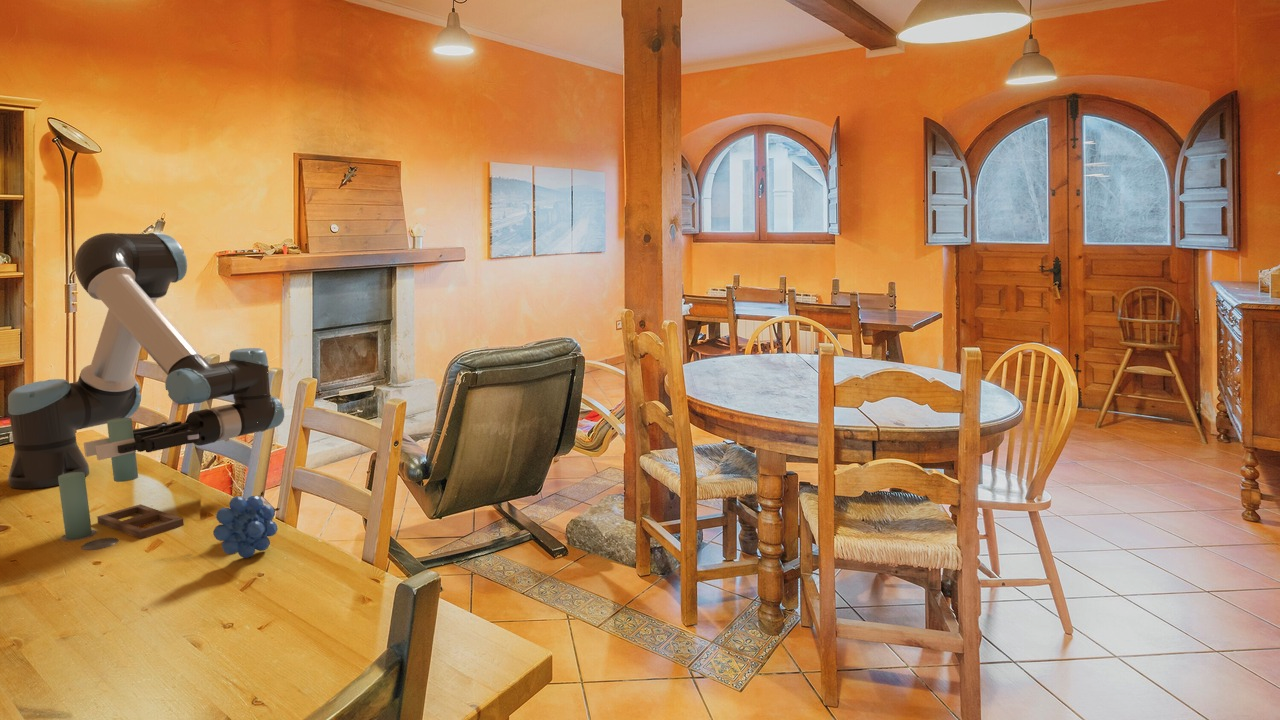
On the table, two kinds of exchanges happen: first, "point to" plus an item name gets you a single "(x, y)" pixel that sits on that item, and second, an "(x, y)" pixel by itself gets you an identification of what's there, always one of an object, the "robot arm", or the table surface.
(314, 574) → the table surface
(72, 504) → the pin
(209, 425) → the robot arm
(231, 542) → the blue flower wheel
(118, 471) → the teal pin
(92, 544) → the pattern plate
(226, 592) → the table surface
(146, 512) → the brown wooden peg holder
